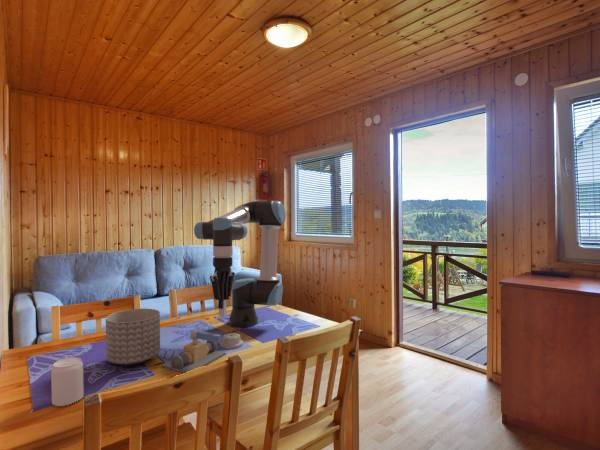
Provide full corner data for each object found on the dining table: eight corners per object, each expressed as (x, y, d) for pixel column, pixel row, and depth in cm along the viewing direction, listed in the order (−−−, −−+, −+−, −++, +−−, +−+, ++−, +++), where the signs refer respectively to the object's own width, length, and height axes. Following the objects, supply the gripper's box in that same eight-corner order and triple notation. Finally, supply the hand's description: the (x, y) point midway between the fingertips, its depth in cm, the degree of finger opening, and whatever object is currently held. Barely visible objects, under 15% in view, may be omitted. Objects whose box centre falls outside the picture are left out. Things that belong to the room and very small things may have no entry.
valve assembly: (199, 348, 149) (199, 327, 149) (225, 354, 143) (225, 332, 143) (162, 366, 131) (161, 343, 131) (190, 374, 125) (190, 349, 125)
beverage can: (61, 394, 111) (61, 357, 110) (88, 393, 111) (88, 356, 111) (45, 408, 103) (44, 368, 102) (74, 407, 103) (73, 367, 103)
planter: (105, 376, 123) (104, 325, 123) (106, 356, 140) (106, 312, 140) (162, 365, 132) (162, 318, 132) (157, 348, 149) (157, 306, 148)
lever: (189, 337, 136) (189, 331, 136) (194, 335, 139) (194, 329, 139) (216, 343, 130) (216, 337, 130) (222, 340, 133) (222, 334, 133)
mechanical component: (216, 348, 150) (238, 350, 148) (216, 338, 150) (238, 340, 148) (225, 340, 159) (246, 342, 157) (225, 330, 159) (246, 332, 157)
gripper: (225, 254, 145) (225, 311, 146) (204, 257, 134) (204, 319, 134) (240, 255, 142) (240, 313, 142) (219, 258, 130) (219, 321, 131)
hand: (222, 316), depth 138 cm, fingers closed
